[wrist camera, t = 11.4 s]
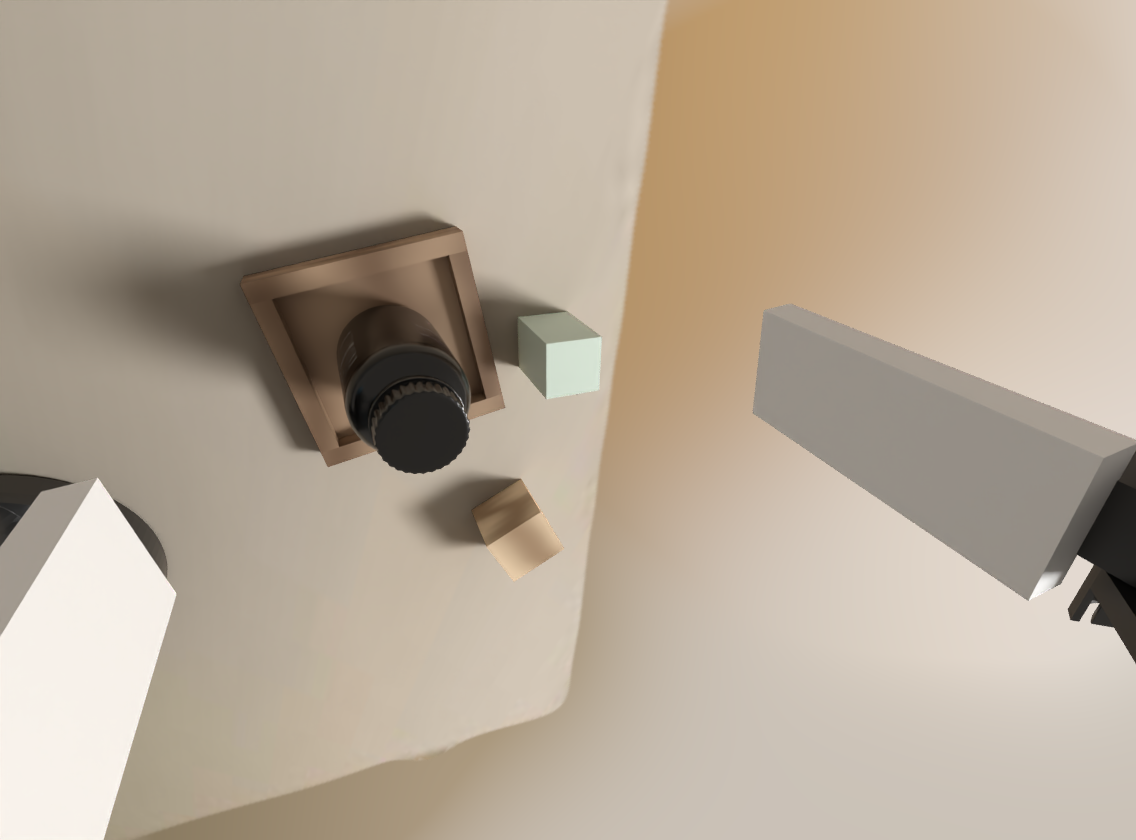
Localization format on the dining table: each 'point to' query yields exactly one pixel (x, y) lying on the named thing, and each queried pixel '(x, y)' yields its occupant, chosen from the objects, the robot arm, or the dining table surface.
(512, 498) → the oak block
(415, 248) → the walnut tray
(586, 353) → the sage cube
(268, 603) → the dining table surface
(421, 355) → the supplement bottle
